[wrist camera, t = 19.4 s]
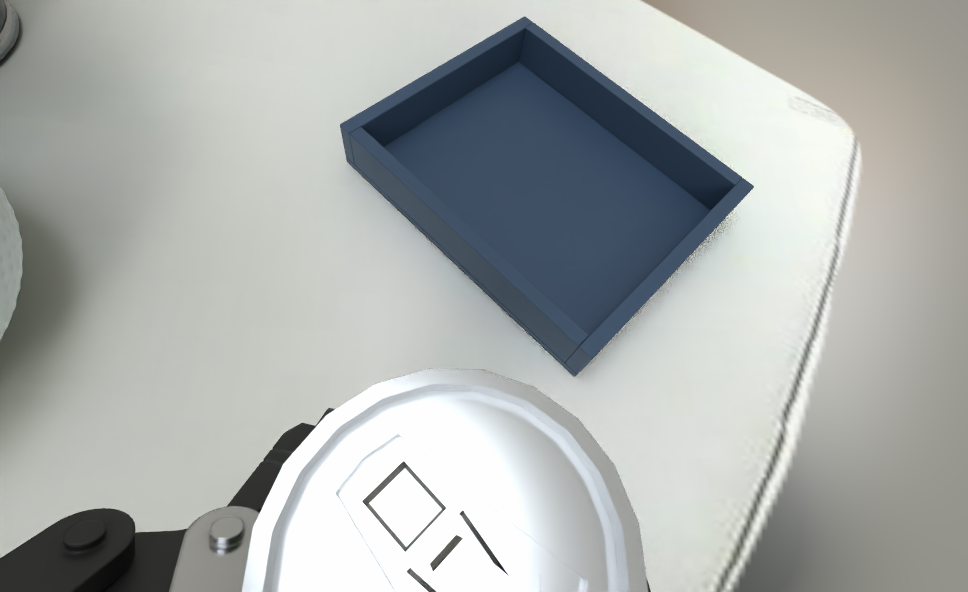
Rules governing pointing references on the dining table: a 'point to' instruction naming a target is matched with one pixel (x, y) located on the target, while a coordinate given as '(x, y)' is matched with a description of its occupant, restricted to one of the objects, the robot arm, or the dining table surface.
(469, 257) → the tray
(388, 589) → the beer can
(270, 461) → the robot arm
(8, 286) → the cereal bowl
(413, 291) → the dining table surface
